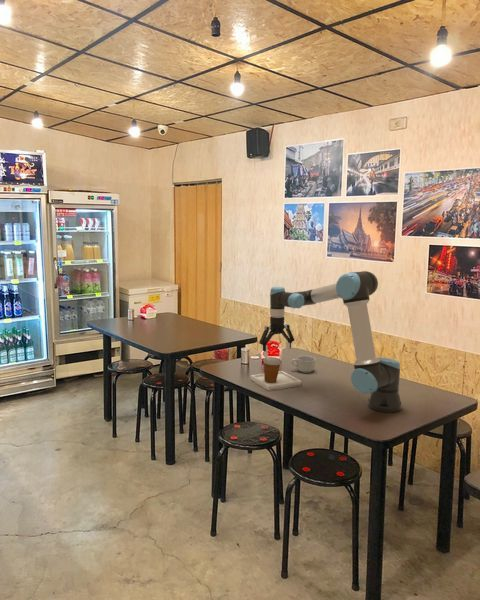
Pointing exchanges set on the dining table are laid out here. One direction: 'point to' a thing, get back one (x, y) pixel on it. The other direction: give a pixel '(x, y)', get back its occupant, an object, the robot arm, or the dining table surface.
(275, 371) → the disposable coffee cup
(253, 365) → the dining table surface
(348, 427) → the dining table surface
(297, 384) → the tray
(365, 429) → the dining table surface
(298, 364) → the teacup
